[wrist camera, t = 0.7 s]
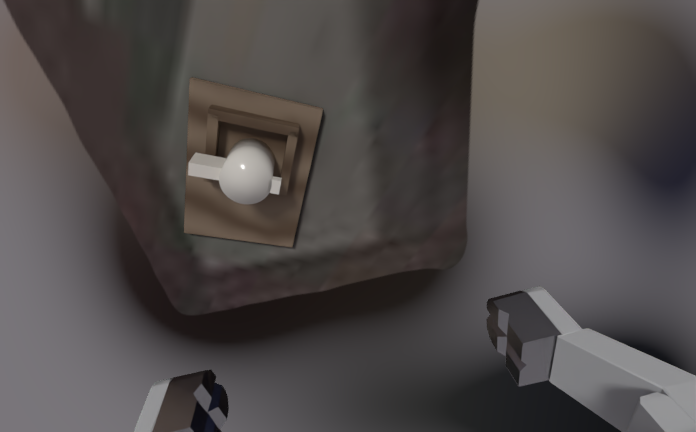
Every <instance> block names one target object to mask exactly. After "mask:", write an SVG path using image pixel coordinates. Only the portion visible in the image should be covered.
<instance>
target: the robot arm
mask: <svg viewBox="0 0 696 432" xmlns="http://www.w3.org/2000/svg"><path fill="white" fill-rule="evenodd" d="M487 310H488V311H489V313H490V315H489V317H488V318H487V330H488V333H489V337H490V339H491V341H492V343H493V345H494V347H495V349H496V350H497V352H499V353H501V354H502V355H504V356H506V364H505V365H506V367H507V369H508V370H509V371H510V373H511V375H512V377H513V378H514V380H515V381H516V383H517V385H518V386H523V385H527V384H532V383H537V382H541V381H545V380H550V382H551V383H552V384H554V385H555V386H557V387H558V388H560V389H561V390H563V391H564V392H565V393H567V394H568V395H570V396H571V397H573V398H574V399H576V400H577V401H578V402H580V403H581V404H583V405H584V406H586V407H587V408H589V409H590V410H592V411H593V412H594V413H596V414H597V415H599V416H600V417H602V418H603V419H605V420H606V421H607V422H609V423H610V424H612V425H613V426H615V427H616V428H618V429H619V430H620V431H622V432H696V376H695V375H692V374H690V373H688V372H685V371H683V370H681V369H679V368H677V367H674V366H672V365H670V364H668V363H665V362H663V361H661V360H658V359H656V358H654V357H652V356H650V355H647V354H645V353H643V352H641V351H638V350H636V349H634V348H631V347H629V346H627V345H625V344H623V343H620V342H618V341H616V340H614V339H611V338H609V337H607V336H604V335H602V334H600V333H598V332H596V331H593V330H591V329H589V328H587V329H582V328H581V327H580V326H579V325H578V324H577V323H576V322H575V321H574V320H573V319H572V318H571V317H570V315H569V314H568V313H567V312H566V311H565V310H564V309H563V308H562V307H561V306H560V305H559V304H558V303H557V302H556V301H555V300H554V298H553V297H552V296H551V295H550V294H549V293H548V292H547V291H546V290H545V289H544V288H543V287H541V286H539V287H534V288H530V289H526V290H523V291H517V292H513V293H510V294H506V295H502V296H499V297H494V298H491V299H488V301H487ZM215 380H216V375H215V374H214V373H213V372H212V370H205V371H201V372H197V373H192V374H187V375H183V376H179V377H174V378H170V379H166V380H162V381H157V382H155V384H154V385H153V386H152V387H151V389H150V392H149V394H148V397H147V399H146V402H145V404H144V407H143V409H142V412H141V414H140V417H139V419H138V422H137V425H136V427H135V430H134V432H221V430H220V429H221V427H222V426H223V424H224V423H225V422H226V420H227V416H228V409H229V407H228V396H227V394H226V390H225V389H224V387H223V386H222V385H220V384H217V383H215Z"/></svg>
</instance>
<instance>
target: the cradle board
mask: <svg viewBox="0 0 696 432" xmlns="http://www.w3.org/2000/svg"><path fill="white" fill-rule="evenodd" d="M322 112H323V108H319V107H315V106H311V105H307V104H302V103H298V102H294V101H290V100H286V99H281V98H277V97H273V96H269V95H265V94H260V93H256V92H252V91H248V90H244V89H239V88H235V87H231V86H227V85H223V84H218V83H214V82H210V81H206V80H202V79H197V78H193V77H192V78H190V86H189V113H188V140H187V167H186V194H185V221H184V233H189V234H197V235H204V236H212V237H219V238H226V239H234V240H241V241H249V242H256V243H263V244H271V245H278V246H286V247H292V246H293V242H294V237H295V233H296V228H297V224H298V220H299V215H300V211H301V206H302V202H303V197H304V193H305V188H306V184H307V179H308V175H309V170H310V166H311V162H312V157H313V153H314V148H315V144H316V139H317V135H318V130H319V126H320V121H321V117H322ZM245 138H255V139H258V140H261V141H263V142H264V143H266V144H267V145H268V146H269V147H270V148H271V150H272V151H273V153H274V157H275V166H274V173H273V176H274V177H280V178H282V179H281V186H280V191H279V194H273V193H269V194H268V196H267V197H266V198H265V199H263V200H262V201H260V202H258V203H255V204H240V203H237V202H235V201H233V200H231V199H230V198H228V197H227V196H226V195H225V194H224V192H223V191H222V189H221V187H220V184H219V180H213V179H207V178H202V177H196V176H190V175H188V164H189V161H190V160H191V158H192V157H193V155H194V154H195V153H201V154H206V155H212V156H217V157H222V158H227V156H228V154H229V152H230V150H231V148H232V146H233V145H234V144H235V143H236V142H238V141H239V140H242V139H245Z"/></svg>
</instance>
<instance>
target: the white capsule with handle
mask: <svg viewBox="0 0 696 432" xmlns="http://www.w3.org/2000/svg"><path fill="white" fill-rule="evenodd" d="M274 166H275V157H274V153H273V151H272V150H271V148H270V147H269V146H268V145H267V144H266V143H264V142H263V141H261V140H258V139H255V138H245V139H242V140H239V141H238V142H236V143H235V144H234V145H233V146H232V148H231V150H230V152H229V154H228V156H227V158H222V157H217V156H212V155H206V154H201V153H195V154H194V155H193V157H192V158H191V160H190V161H189V164H188V175H190V176H196V177H202V178H207V179H213V180H219V184H220V187H221V189H222V191H223V192H224V194H225V195H226V196H227V197H228V198H230V199H231V200H233V201H235V202H237V203H240V204H255V203H258V202H260V201H262V200H263V199H265V198H266V197H267V196H268V194H269V193H273V194H279V191H280V186H281V179H282V178H280V177H274V176H273V173H274Z"/></svg>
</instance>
